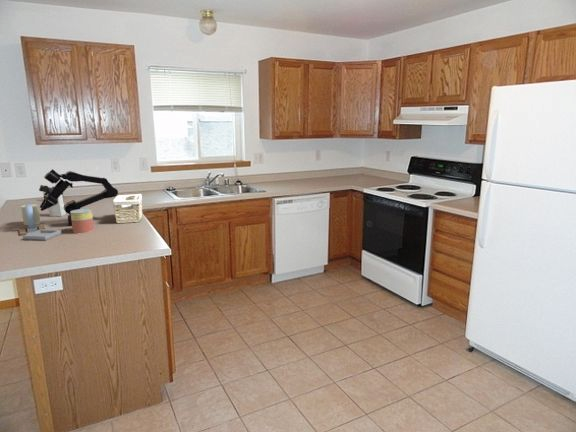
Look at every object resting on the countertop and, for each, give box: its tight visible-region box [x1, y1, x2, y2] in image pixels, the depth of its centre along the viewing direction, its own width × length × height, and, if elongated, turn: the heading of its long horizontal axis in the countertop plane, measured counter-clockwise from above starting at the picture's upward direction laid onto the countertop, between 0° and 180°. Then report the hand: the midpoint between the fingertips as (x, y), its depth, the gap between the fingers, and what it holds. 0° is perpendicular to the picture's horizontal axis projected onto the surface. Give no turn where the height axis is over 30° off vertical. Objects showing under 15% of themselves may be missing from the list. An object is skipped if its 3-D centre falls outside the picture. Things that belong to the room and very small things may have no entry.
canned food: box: [70, 208, 95, 234], centre depth 231 cm, size 11×11×12 cm
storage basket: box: [112, 193, 143, 224], centre depth 258 cm, size 24×16×15 cm
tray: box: [22, 229, 63, 242], centre depth 220 cm, size 13×13×2 cm
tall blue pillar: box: [25, 204, 39, 233], centre depth 232 cm, size 7×5×15 cm
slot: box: [18, 225, 46, 237], centre depth 232 cm, size 14×12×1 cm
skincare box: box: [47, 194, 67, 217], centre depth 269 cm, size 8×6×15 cm
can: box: [20, 203, 42, 226], centre depth 248 cm, size 9×9×12 cm
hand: (40, 209), depth 234 cm, fingers open, 9 cm apart
